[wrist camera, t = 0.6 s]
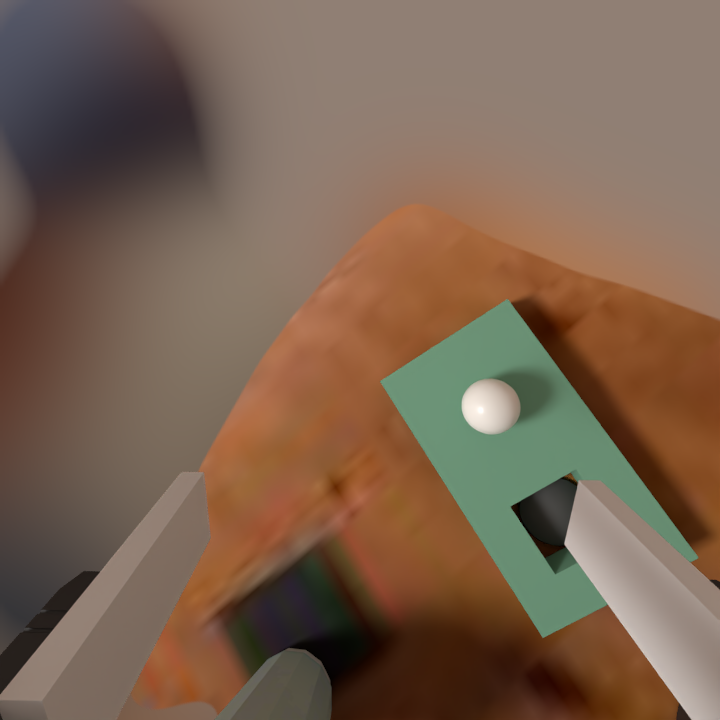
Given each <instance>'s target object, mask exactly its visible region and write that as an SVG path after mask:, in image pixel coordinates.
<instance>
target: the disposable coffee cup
mask: <svg viewBox="0 0 720 720" xmlns="http://www.w3.org/2000/svg"><path fill="white" fill-rule="evenodd" d="M331 711H332V687H331V685H330V678H329V676H328V674H327V672H326V670H325V668H324V666H323V664H322V662H321V661H320V660H319V659H317V658H316V657H315V656H313V655H312V654H311V653H309V652H308V651H307V650H302V649H294V648H288V649H286V650H284V651H282V652H280V653H278V654H276V655H275V656H273V657H271V658H269V659H268V660H267V661H266V662H265V663H264V664H263V665H262V666H261V667H260V669H259V670H258V671H257V672H256V673H255V674H254V675H253V677H252V678H251V679H250V680H249V681H248V682H247V683H246V684H245V686H244V687H243V688H242V689H241V690H240V691H239V692H238V694H237V695H236V696H235V697H234V698H233V699H232V700H231V701H230V703H229V704H228V705H227V706H226V707H225V708H224V709H223V711H222V712H221V713H220V714H219V715H218V716H217V717H216V718H215V720H330V718H331Z"/></svg>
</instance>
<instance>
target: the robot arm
mask: <svg viewBox="0 0 720 720" xmlns="http://www.w3.org/2000/svg"><path fill="white" fill-rule="evenodd" d="M210 538H211V536H210V527H209V517H208V507H207V498H206V488H205V478H204V472H181V473H180V475H179V476H178V477H177V479H175V481H174V482H173V483H172V484H171V486H170V487H169V488H168V489H167V491H166V492H165V493H164V494H163V495H162V497H161V498H160V499H159V501H158V502H157V503H156V504H155V505H154V506H153V508H152V509H151V510H150V511H149V513H148V514H147V515H146V516H145V518H144V519H143V520H142V521H141V522H140V524H139V525H138V526H137V527H136V529H135V530H134V531H133V532H132V533H131V535H130V536H129V537H128V538H127V540H126V541H125V542H124V543H123V545H122V546H121V547H120V548H119V550H118V551H117V552H116V553H115V555H114V556H113V557H112V558H111V559H110V560H109V562H108V563H107V564H106V565H105V567H104V568H103V569H102V570H101V572H95V571H94V572H93V571H84V572H82V573H81V574H79V575H78V576H77V577H75V578H74V579H73V580H71V581H70V582H68V583H67V584H66V585H64V586H63V587H62V588H60V589H59V590H58V592H57V593H56V594H55V595H54V596H53V597H52V598H51V599H50V600H49V602H48V603H47V604H46V605H45V606H44V607H43V608H42V609H41V612H40V614H37V615H36V616H35V617H34V618H33V619H32V620H31V622H30V623H29V624H28V625H27V626H26V627H25V630H24V632H23V633H20V634H19V635H18V636H17V637H16V638H15V639H14V641H13V642H12V643H11V644H10V645H9V646H8V647H7V649H6V650H5V651H4V652H3V653H2V654H1V655H0V720H116V719H117V717H118V716H119V713H120V712H121V710H122V707H123V706H124V704H125V702H126V700H127V698H128V696H129V694H130V692H131V691H132V689H133V687H134V685H135V683H136V681H137V679H138V677H139V675H140V673H141V671H142V669H143V667H144V666H145V664H146V662H147V660H148V658H149V656H150V654H151V652H152V650H153V648H154V646H155V644H156V642H157V640H158V639H159V637H160V635H161V633H162V631H163V629H164V627H165V625H166V623H167V621H168V619H169V617H170V615H171V614H172V612H173V610H174V608H175V606H176V604H177V602H178V600H179V598H180V596H181V594H182V592H183V590H184V588H185V587H186V585H187V583H188V581H189V579H190V577H191V575H192V573H193V571H194V569H195V567H196V565H197V563H198V562H199V560H200V558H201V556H202V554H203V552H204V550H205V548H206V546H207V544H208V542H209V540H210ZM564 544H565V546H566V547H567V549H568V550H569V551H570V553H571V554H572V556H573V557H574V558H575V560H576V561H577V562H578V564H579V565H580V567H581V568H582V569H583V571H584V572H585V573H586V575H587V576H588V578H589V579H590V580H591V582H592V583H593V584H594V586H595V587H596V589H597V590H598V591H599V593H600V594H601V596H602V597H603V598H604V600H605V601H606V602H607V604H608V605H609V607H610V608H611V609H612V611H613V612H614V613H615V615H616V616H617V618H618V619H619V620H620V622H621V623H622V625H623V626H624V627H625V629H626V630H627V631H628V633H629V634H630V636H631V637H632V638H633V640H634V641H635V642H636V644H637V645H638V647H639V648H640V649H641V651H642V652H643V653H644V655H645V656H646V658H647V659H648V660H649V662H650V663H651V665H652V666H653V667H654V669H655V670H656V671H657V673H658V674H659V676H660V677H661V678H662V680H663V681H664V682H665V684H666V685H667V687H668V688H669V689H670V691H671V692H672V694H673V695H674V696H675V698H676V699H677V700H678V702H679V707H678V712H677V719H676V720H720V582H719V581H717V580H709V579H707V578H706V577H705V576H704V575H703V574H702V573H701V572H700V571H699V570H698V569H697V568H695V567H694V566H693V565H692V564H691V563H690V562H689V561H688V560H687V559H686V558H684V557H683V556H682V555H681V554H680V553H679V552H678V551H677V550H676V549H675V548H674V547H672V546H671V545H670V544H669V543H668V542H667V541H666V540H665V539H664V538H663V537H662V536H660V535H659V534H658V533H657V532H656V531H655V530H654V529H653V528H652V527H651V526H650V525H648V524H647V523H646V522H645V521H644V520H643V519H642V518H641V517H640V516H639V515H637V514H636V513H635V512H634V511H633V510H632V509H631V508H630V507H629V506H628V505H627V504H625V503H624V502H623V501H622V500H621V499H620V498H619V497H618V496H617V495H616V494H615V493H613V492H612V491H611V490H610V489H609V488H608V487H607V486H606V485H605V484H604V483H603V482H601V481H599V480H579V482H578V486H577V491H576V495H575V499H574V504H573V508H572V513H571V517H570V521H569V526H568V530H567V534H566V539H565V543H564Z"/></svg>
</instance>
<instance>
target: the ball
mask: <svg viewBox="0 0 720 720" xmlns="http://www.w3.org/2000/svg"><path fill="white" fill-rule="evenodd" d="M462 412H463V415H464V418H465V419H466V421H467V422H468V424H469V425H470V426H471V427H473V428H474V429H475V430H477V431H479V432H481V433H485V434H500V433H503V432H505V431H507V430H509V429H510V428H511V427H512V426H513V425H514V424H515V423H516V422H517V420H518V418H519V415H520V401H519V398H518V395H517V394H516V392H515V391H514V389H513V388H512V387H511V386H509V385H508V384H507V383H505V382H503V381H500V380H497V379H482V380H479V381H477V382H475V383H473V384H472V385H471V386H470V387H469V388H468V389H467V390H466V391H465V393H464V395H463V398H462Z"/></svg>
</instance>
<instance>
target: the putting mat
mask: <svg viewBox="0 0 720 720" xmlns="http://www.w3.org/2000/svg"><path fill="white" fill-rule="evenodd" d="M482 379H497V380H500V381H503V382H505V383H507V384H508V385H509V386H511V387H512V388H513V389H514V391H515V392H516V394H517V395H518V398H519V401H520V415H519V418H518V420H517V422H516V423H515V424H514V425H513V426H512V427H511V428H510V429H509V430H507V431H505V432H503V433H500V434H485V433H481V432H479V431H477V430H475V429H474V428H473V427H471V426H470V425H469V424H468V422H467V421H466V419H465V418H464V415H463V412H462V398H463V395H464V393H465V391H466V390H467V389H468V388H469V387H470V386H471V385H472V384H473V383H475V382H477V381H479V380H482ZM380 382H381V384H382V385H383V387H384V389H385V390H386V392H387V393H388V395H389V396H390V398H391V400H392V401H393V403H394V404H395V406H396V407H397V409H398V411H399V412H400V414H401V415H402V417H403V418H404V420H405V422H406V423H407V425H408V426H409V428H410V429H411V431H412V433H413V434H414V436H415V437H416V439H417V440H418V442H419V444H420V445H421V447H422V448H423V450H424V451H425V453H426V455H427V456H428V458H429V459H430V461H431V463H432V464H433V466H434V467H435V469H436V470H437V472H438V474H439V475H440V477H441V478H442V480H443V481H444V483H445V485H446V486H447V488H448V489H449V491H450V492H451V494H452V496H453V497H454V499H455V500H456V502H457V503H458V505H459V507H460V508H461V510H462V511H463V513H464V514H465V516H466V518H467V519H468V521H469V522H470V524H471V525H472V527H473V529H474V530H475V532H476V533H477V535H478V537H479V538H480V540H481V541H482V543H483V544H484V546H485V548H486V549H487V551H488V552H489V554H490V555H491V557H492V559H493V560H494V562H495V563H496V565H497V566H498V568H499V570H500V571H501V573H502V574H503V576H504V577H505V579H506V581H507V582H508V584H509V585H510V587H511V588H512V590H513V592H514V593H515V595H516V596H517V598H518V599H519V601H520V603H521V604H522V606H523V607H524V609H525V611H526V612H527V614H528V615H529V617H530V618H531V620H532V622H533V623H534V625H535V626H536V628H537V629H538V631H539V633H540V634H541V636H542V637H543V638H544V637H546V636H548V635H549V634H551V633H553V632H555V631H557V630H559V629H561V628H563V627H565V626H567V625H569V624H571V623H573V622H575V621H577V620H579V619H581V618H583V617H585V616H587V615H588V614H590V613H592V612H594V611H596V610H598V609H600V608H602V607H604V606H606V605H608V604H607V602H606V601H605V600H604V598H603V597H602V596H601V594H600V593H599V591H598V590H597V589H596V587H595V586H594V584H593V583H592V582H591V580H590V579H589V578H588V576H587V575H586V573H585V572H584V571H583V569H582V568H581V567H580V565H579V564H578V562H577V561H576V560H575V558H574V557H573V556H572V554H571V553H570V551H569V550H568V549H567V547H565V548H563V549H561V550H559V551H557V552H556V553H554V554H552V555H550V556H548V557H546V558H544V557H543V555H542V554H541V552H540V551H539V549H538V548H537V546H536V545H535V543H534V542H533V540H532V539H531V537H530V536H529V534H528V533H527V531H526V530H525V528H524V527H523V525H522V523H521V522H520V520H519V519H518V517H517V516H516V514H515V513H514V511H513V510H512V508H511V507H510V506H512V505H514V504H516V503H517V502H519V501H520V504H519V510H520V515H521V519H522V521H523V523H524V525H525V527H526V528H527V529H528V531H529V532H530V533H531V534H532V535H533V536H534V537H536V538H537V539H539V540H540V541H542V542H544V543H547V544H551V545H558V546H560V545H565V544H564V543H565V539H566V534H567V530H568V526H569V521H570V517H571V513H572V508H573V504H574V499H575V495H576V491H577V486H575V485H574V484H573V483H571V482H569V481H567V480H565V479H562V478H561V477H563V476H565V475H567V474H569V473H570V472H571V474H572V475H573V477H574V478H575V479H576V481H577V482H579V480H599V481H601V482H603V483H604V484H605V485H606V486H607V487H608V488H609V489H610V490H611V491H612V492H613V493H615V494H616V495H617V496H618V497H619V498H620V499H621V500H622V501H623V502H624V503H625V504H627V505H628V506H629V507H630V508H631V509H632V510H633V511H634V512H635V513H636V514H637V515H639V516H640V517H641V518H642V519H643V520H644V521H645V522H646V523H647V524H648V525H650V526H651V527H652V528H653V529H654V530H655V531H656V532H657V533H658V534H659V535H660V536H662V537H663V538H664V539H665V540H666V541H667V542H668V543H669V544H670V545H671V546H672V547H674V548H675V549H676V550H677V551H678V552H679V553H680V554H681V555H682V556H683V557H684V558H686V559H687V560H688V561H689V562H692V561H694V560H696V559H698V556H697V555H696V554H695V552H694V551H693V550H692V548H691V547H690V546H689V544H688V543H687V541H686V540H685V539H684V537H683V536H682V535H681V533H680V532H679V531H678V529H677V528H676V527H675V525H674V524H673V522H672V521H671V520H670V518H669V517H668V516H667V514H666V513H665V512H664V510H663V509H662V508H661V506H660V505H659V503H658V502H657V501H656V499H655V498H654V497H653V495H652V494H651V493H650V491H649V490H648V489H647V487H646V486H645V484H644V483H643V482H642V480H641V479H640V478H639V476H638V475H637V474H636V472H635V471H634V470H633V468H632V467H631V466H630V464H629V463H628V461H627V460H626V459H625V457H624V456H623V455H622V453H621V452H620V451H619V449H618V448H617V447H616V445H615V444H614V442H613V441H612V440H611V438H610V437H609V436H608V434H607V433H606V432H605V430H604V429H603V428H602V426H601V425H600V423H599V422H598V421H597V419H596V418H595V417H594V415H593V414H592V413H591V411H590V410H589V409H588V407H587V406H586V404H585V403H584V402H583V400H582V399H581V398H580V396H579V395H578V394H577V392H576V391H575V390H574V388H573V387H572V385H571V384H570V383H569V381H568V380H567V379H566V377H565V376H564V375H563V373H562V372H561V371H560V369H559V368H558V366H557V365H556V364H555V362H554V361H553V360H552V358H551V357H550V356H549V354H548V353H547V352H546V350H545V349H544V348H543V346H542V345H541V343H540V342H539V341H538V339H537V338H536V337H535V335H534V334H533V333H532V331H531V330H530V329H529V327H528V326H527V324H526V323H525V322H524V320H523V319H522V318H521V316H520V315H519V314H518V312H517V311H516V310H515V308H514V307H513V305H512V304H511V303H510V301H509V300H508V299H507V300H505V301H504V302H502V303H501V304H499V305H498V306H496V307H494V308H493V309H491V310H490V311H488V312H487V313H485V314H484V315H482V316H480V317H479V318H477V319H476V320H474V321H473V322H471V323H470V324H468V325H467V326H465V327H463V328H462V329H460V330H459V331H457V332H456V333H454V334H453V335H451V336H450V337H448V338H446V339H445V340H443V341H442V342H440V343H439V344H437V345H436V346H434V347H432V348H431V349H429V350H428V351H426V352H425V353H423V354H422V355H420V356H419V357H417V358H415V359H414V360H412V361H411V362H409V363H408V364H406V365H405V366H403V367H402V368H400V369H398V370H397V371H395V372H394V373H392V374H391V375H389V376H388V377H386V378H384V379H383V380H381V381H380Z"/></svg>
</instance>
